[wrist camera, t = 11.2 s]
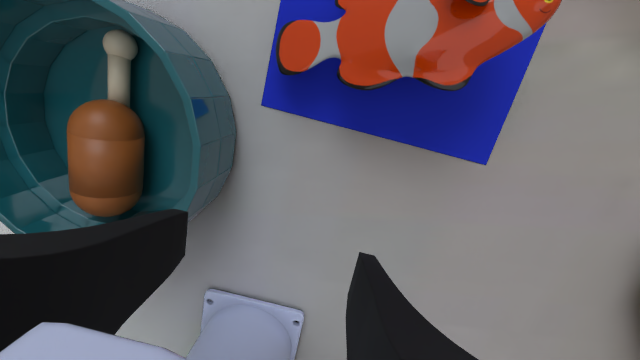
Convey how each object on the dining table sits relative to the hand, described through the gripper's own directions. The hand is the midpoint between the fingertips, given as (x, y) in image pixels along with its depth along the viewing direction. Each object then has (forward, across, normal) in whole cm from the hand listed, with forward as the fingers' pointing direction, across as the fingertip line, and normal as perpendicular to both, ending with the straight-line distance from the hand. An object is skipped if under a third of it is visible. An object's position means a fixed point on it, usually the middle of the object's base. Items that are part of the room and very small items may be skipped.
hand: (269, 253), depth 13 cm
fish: (+10, -4, -11) cm, 15 cm away
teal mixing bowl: (+9, +12, -2) cm, 16 cm away
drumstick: (+9, +13, -2) cm, 15 cm away
